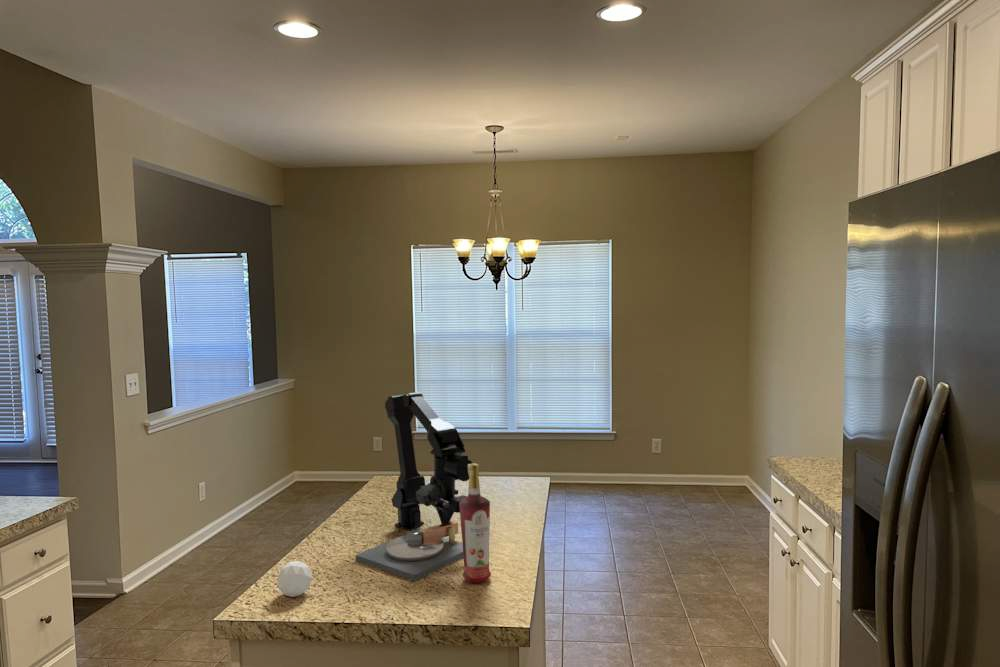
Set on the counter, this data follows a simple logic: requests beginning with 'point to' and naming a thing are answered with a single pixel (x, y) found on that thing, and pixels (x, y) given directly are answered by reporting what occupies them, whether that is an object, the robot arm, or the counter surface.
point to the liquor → (475, 530)
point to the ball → (294, 578)
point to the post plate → (413, 568)
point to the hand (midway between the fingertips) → (445, 527)
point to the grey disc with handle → (420, 543)
